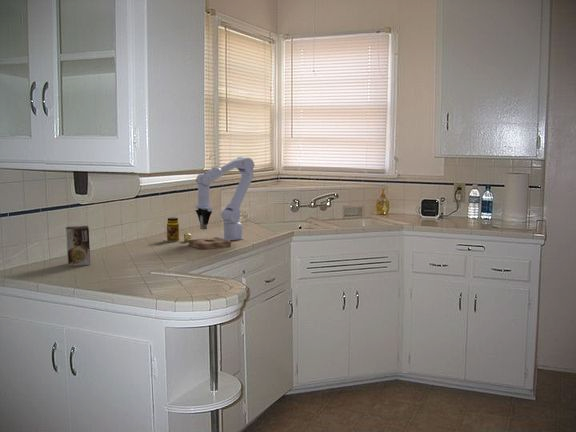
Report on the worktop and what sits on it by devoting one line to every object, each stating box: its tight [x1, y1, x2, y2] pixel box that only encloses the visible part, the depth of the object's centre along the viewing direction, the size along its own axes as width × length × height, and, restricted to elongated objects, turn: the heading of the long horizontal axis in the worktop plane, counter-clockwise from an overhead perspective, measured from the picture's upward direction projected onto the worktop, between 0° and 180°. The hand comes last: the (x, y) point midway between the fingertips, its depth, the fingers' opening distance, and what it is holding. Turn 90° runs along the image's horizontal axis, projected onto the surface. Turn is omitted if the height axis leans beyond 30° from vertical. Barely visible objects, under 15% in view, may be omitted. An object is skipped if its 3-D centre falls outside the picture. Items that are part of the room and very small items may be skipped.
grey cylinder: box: [199, 215, 208, 230], centre depth 330 cm, size 4×4×7 cm
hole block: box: [188, 236, 232, 250], centre depth 322 cm, size 16×14×2 cm
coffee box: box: [65, 225, 91, 267], centre depth 275 cm, size 9×6×16 cm
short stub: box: [183, 233, 192, 243], centre depth 332 cm, size 4×4×4 cm
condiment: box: [163, 216, 182, 243], centre depth 334 cm, size 7×8×12 cm
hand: (203, 223), depth 330 cm, fingers closed on grey cylinder, 4 cm apart
